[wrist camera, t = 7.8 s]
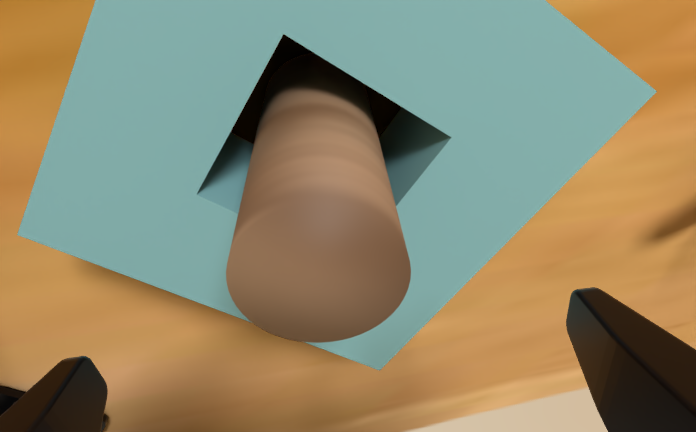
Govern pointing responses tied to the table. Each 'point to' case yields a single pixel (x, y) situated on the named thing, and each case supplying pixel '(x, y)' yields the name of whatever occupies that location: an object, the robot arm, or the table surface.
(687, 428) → the robot arm
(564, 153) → the socket block
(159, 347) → the table surface
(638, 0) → the table surface
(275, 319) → the walnut dowel
